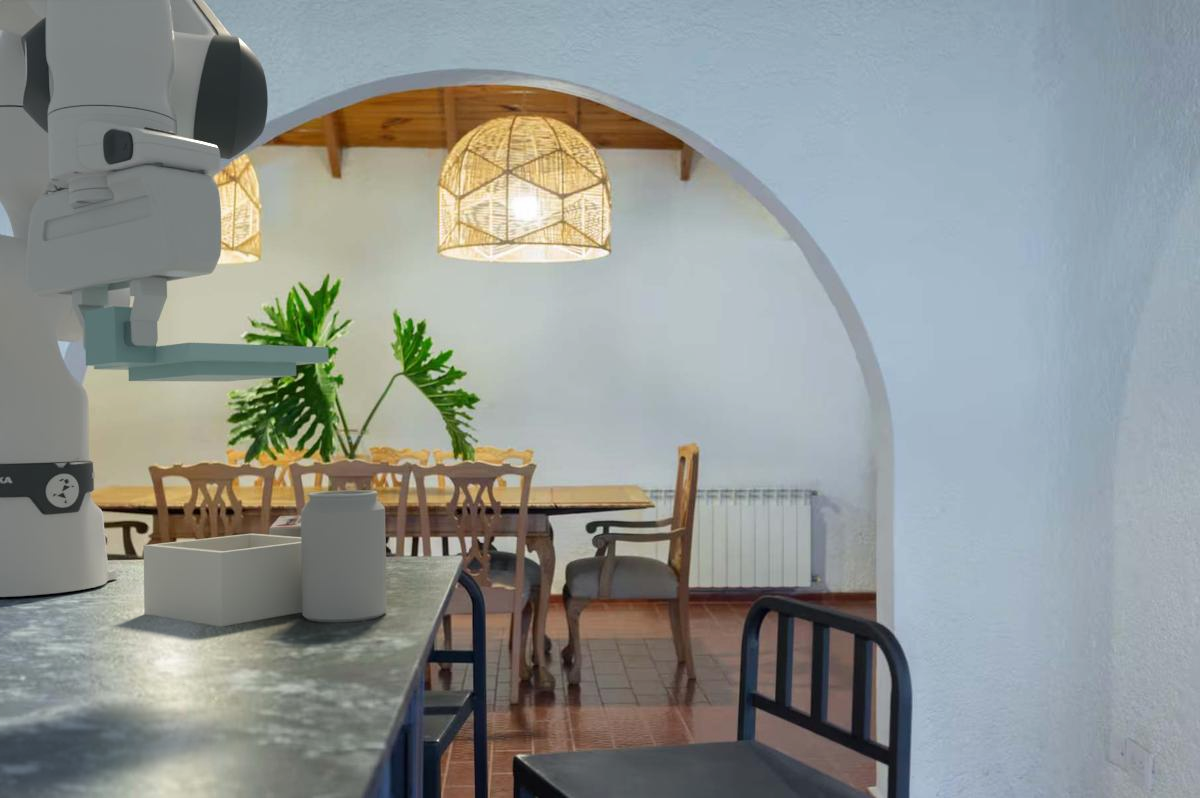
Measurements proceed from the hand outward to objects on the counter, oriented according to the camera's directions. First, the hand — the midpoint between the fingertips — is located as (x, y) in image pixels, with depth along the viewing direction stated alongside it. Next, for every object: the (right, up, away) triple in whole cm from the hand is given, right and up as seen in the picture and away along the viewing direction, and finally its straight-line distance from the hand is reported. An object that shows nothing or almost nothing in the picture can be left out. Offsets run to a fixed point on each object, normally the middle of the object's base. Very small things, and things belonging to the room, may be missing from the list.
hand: (120, 348), depth 85 cm
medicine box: (+4, -25, +40) cm, 48 cm away
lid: (+4, -2, +5) cm, 7 cm away
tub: (+1, -24, +25) cm, 34 cm away
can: (+12, -24, +21) cm, 34 cm away
